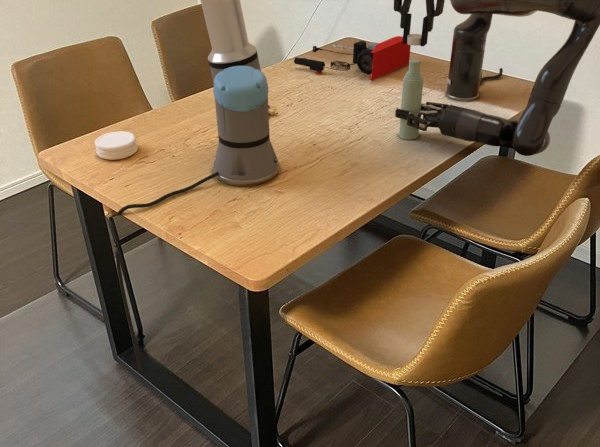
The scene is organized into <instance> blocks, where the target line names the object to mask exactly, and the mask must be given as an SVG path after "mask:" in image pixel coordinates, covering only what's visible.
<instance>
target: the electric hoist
mask: <svg viewBox="0 0 600 447" xmlns="http://www.w3.org/2000/svg"><path fill="white" fill-rule="evenodd" d="M402 43H403V35H402V36H401V35H397V36H393V37H391V38H388V39H386V40H384V41H382V42H375V41H371V42H370V43H369V44H368V45H367V41H365V40H359V41H357V42H354V43H353V46H349V45H345V44H344V45H341V44H332V47H333V48H338V49H339V48H341V49H343V50H347V49H349V50H352V51H353V52H352V53H344V52H338V51H333V50H328V49H323V48H320V47H318V46H316V45H312V49H311V51H312V52H313V53H316V52H318V51H325V52H330V53H337V54H342V55H346V56H347V55H348V56H352V63H351V64H350V63H349V62H347V61H340V60H334V61H330V66H329V67H328V66H326V63H325V62H324V61H322V60H316V59H311V58H306V57H294V59H293V63H294V64H295V65H298V66H303V67H308V68H309V70H311V71H314V72H315V73H316V74H319V75H321V74H323V71H324V70H325V69H330V70H334V71H340V72H341V71H344V72H345V71H350V70H351V66H354V65H357V68H358V69H359V71H360V72H361V73H363V74H365V75H368V76H370V78H369V79H368V80H369V81H371V82H373V81H375V80H377V79H379V78H381V77H384V76H385V75H387V74H390V73H392V72H394V71H396V70H398V69H401V68H402V67H405V66H407V65H409V61H410V57H411V47H412V45H409V44H407V43H406V44H402Z"/></svg>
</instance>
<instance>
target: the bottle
mask: <svg viewBox="0 0 600 447" xmlns="http://www.w3.org/2000/svg"><path fill="white" fill-rule="evenodd" d="M421 63H422V62H421V60H420V59H417V58H412V59H409V64H408V70H407V72H406V73H405V74H404V76H403V79H402V89H401V102H400V109H402V110H407V111H410V112H419V111H421V104H422V100H423V89H424V77H423V74H422V73H421V70H420V69H421ZM416 117H418V116H416ZM398 128H399V129H398V137H399V138H400V139H403V140H415V139H417V138H418V137H419V131H420V130H419V129H417V128H414V127H411V126H409V125H407V120H405V119H400V118H399V127H398Z"/></svg>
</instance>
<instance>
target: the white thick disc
mask: <svg viewBox="0 0 600 447" xmlns="http://www.w3.org/2000/svg"><path fill="white" fill-rule="evenodd" d="M94 146H95V152H96V155H97V156H98V157H100V158H101V159H104V160H110V161H111V160H114V161H115V160H116V161H117V160H122V159H126V158H128V157H130V156H133V155H134V154H135V153H136V152H137V151H138V147H139V146H138V141H137V137H136V135H135V134H133V133H132V132H129V131H124V130H123V131H121V130H119V131H110V132H107V133H103V134H102V135H99V136H98V137H97V138H96V139H95V140H94Z"/></svg>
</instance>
